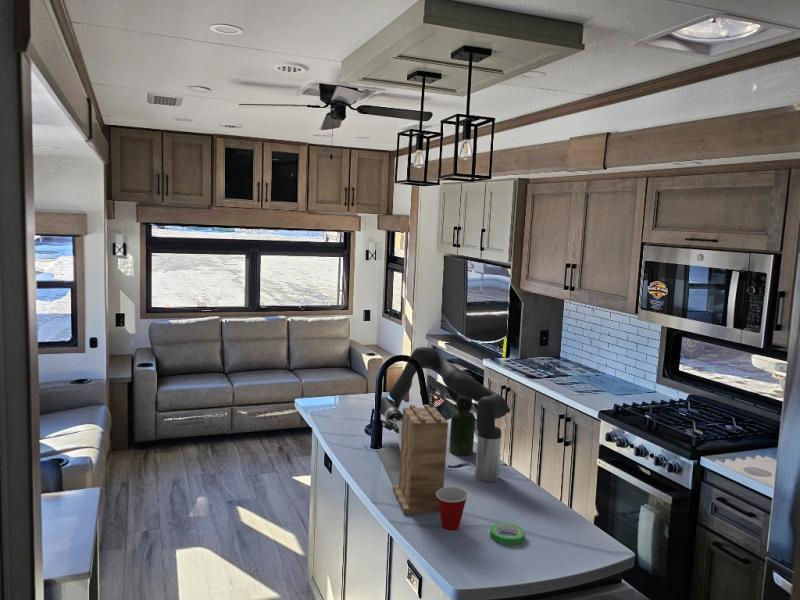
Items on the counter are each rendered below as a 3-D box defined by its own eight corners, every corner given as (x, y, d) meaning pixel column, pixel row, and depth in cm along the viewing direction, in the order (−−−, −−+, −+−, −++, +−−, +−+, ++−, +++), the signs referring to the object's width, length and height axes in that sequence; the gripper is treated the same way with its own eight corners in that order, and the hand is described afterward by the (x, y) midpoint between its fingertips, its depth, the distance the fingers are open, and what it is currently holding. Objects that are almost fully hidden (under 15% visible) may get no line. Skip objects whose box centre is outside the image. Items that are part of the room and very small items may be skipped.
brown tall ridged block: (392, 490, 247) (397, 403, 243) (433, 489, 250) (439, 403, 246) (403, 514, 227) (409, 420, 223) (448, 512, 231) (454, 420, 227)
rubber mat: (375, 449, 289) (376, 448, 289) (407, 448, 292) (407, 447, 292) (394, 489, 248) (394, 487, 248) (430, 488, 251) (430, 486, 251)
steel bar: (395, 425, 276) (396, 420, 274) (402, 425, 276) (403, 420, 275) (405, 481, 254) (407, 476, 252) (413, 481, 255) (414, 476, 253)
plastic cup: (427, 521, 223) (430, 487, 221) (456, 517, 227) (458, 484, 226) (442, 536, 213) (444, 501, 211) (471, 532, 217) (474, 497, 216)
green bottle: (466, 447, 298) (470, 393, 295) (476, 455, 289) (480, 399, 286) (445, 448, 295) (449, 393, 292) (454, 456, 285) (458, 400, 282)
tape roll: (501, 548, 208) (502, 540, 208) (483, 532, 218) (484, 525, 218) (531, 543, 212) (531, 535, 212) (512, 528, 222) (512, 520, 222)
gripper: (378, 409, 285) (385, 422, 268) (410, 409, 288) (419, 422, 271) (377, 426, 286) (384, 440, 269) (409, 425, 289) (418, 439, 272)
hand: (402, 430), depth 270 cm, fingers closed on steel bar, 3 cm apart
